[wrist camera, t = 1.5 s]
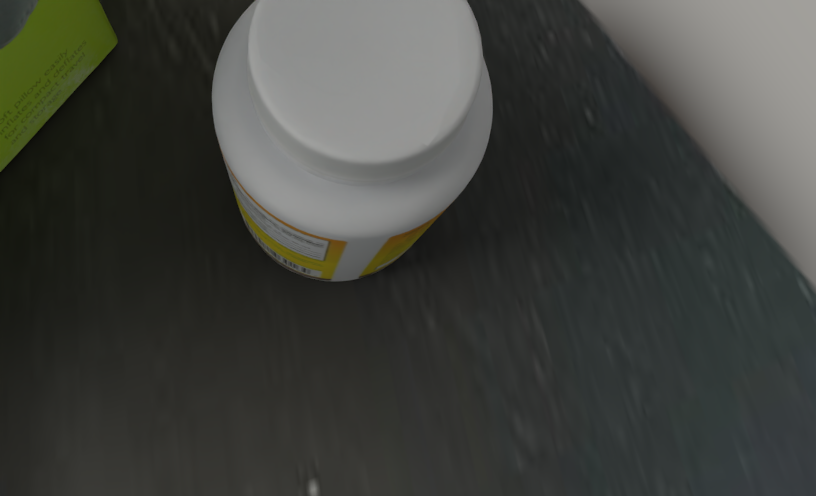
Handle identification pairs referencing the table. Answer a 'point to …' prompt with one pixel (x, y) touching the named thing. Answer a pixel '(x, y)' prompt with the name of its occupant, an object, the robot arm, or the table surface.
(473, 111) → the supplement bottle
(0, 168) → the box
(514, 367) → the table surface
